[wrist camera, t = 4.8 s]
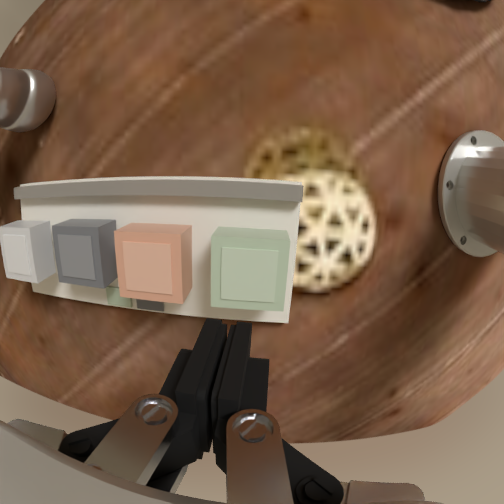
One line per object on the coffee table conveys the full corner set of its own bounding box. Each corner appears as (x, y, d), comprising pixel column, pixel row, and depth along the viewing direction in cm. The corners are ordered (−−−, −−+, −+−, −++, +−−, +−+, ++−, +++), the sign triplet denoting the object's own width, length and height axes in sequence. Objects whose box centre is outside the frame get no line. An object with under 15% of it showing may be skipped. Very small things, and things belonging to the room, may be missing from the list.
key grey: (49, 220, 22) (28, 228, 19) (56, 272, 23) (37, 284, 20) (18, 220, 22) (-3, 227, 19) (24, 267, 23) (5, 277, 20)
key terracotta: (191, 225, 21) (180, 234, 18) (192, 287, 23) (182, 304, 20) (131, 222, 22) (113, 231, 19) (135, 281, 23) (119, 297, 20)
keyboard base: (300, 181, 23) (303, 183, 21) (287, 317, 26) (288, 328, 24) (25, 183, 23) (13, 185, 21) (38, 288, 27) (28, 294, 25)
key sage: (287, 230, 21) (290, 241, 18) (281, 293, 23) (283, 312, 20) (218, 226, 21) (210, 236, 18) (217, 289, 23) (210, 307, 20)
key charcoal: (115, 219, 23) (97, 227, 20) (120, 275, 24) (103, 289, 21) (71, 218, 23) (50, 226, 20) (76, 270, 24) (58, 282, 21)
